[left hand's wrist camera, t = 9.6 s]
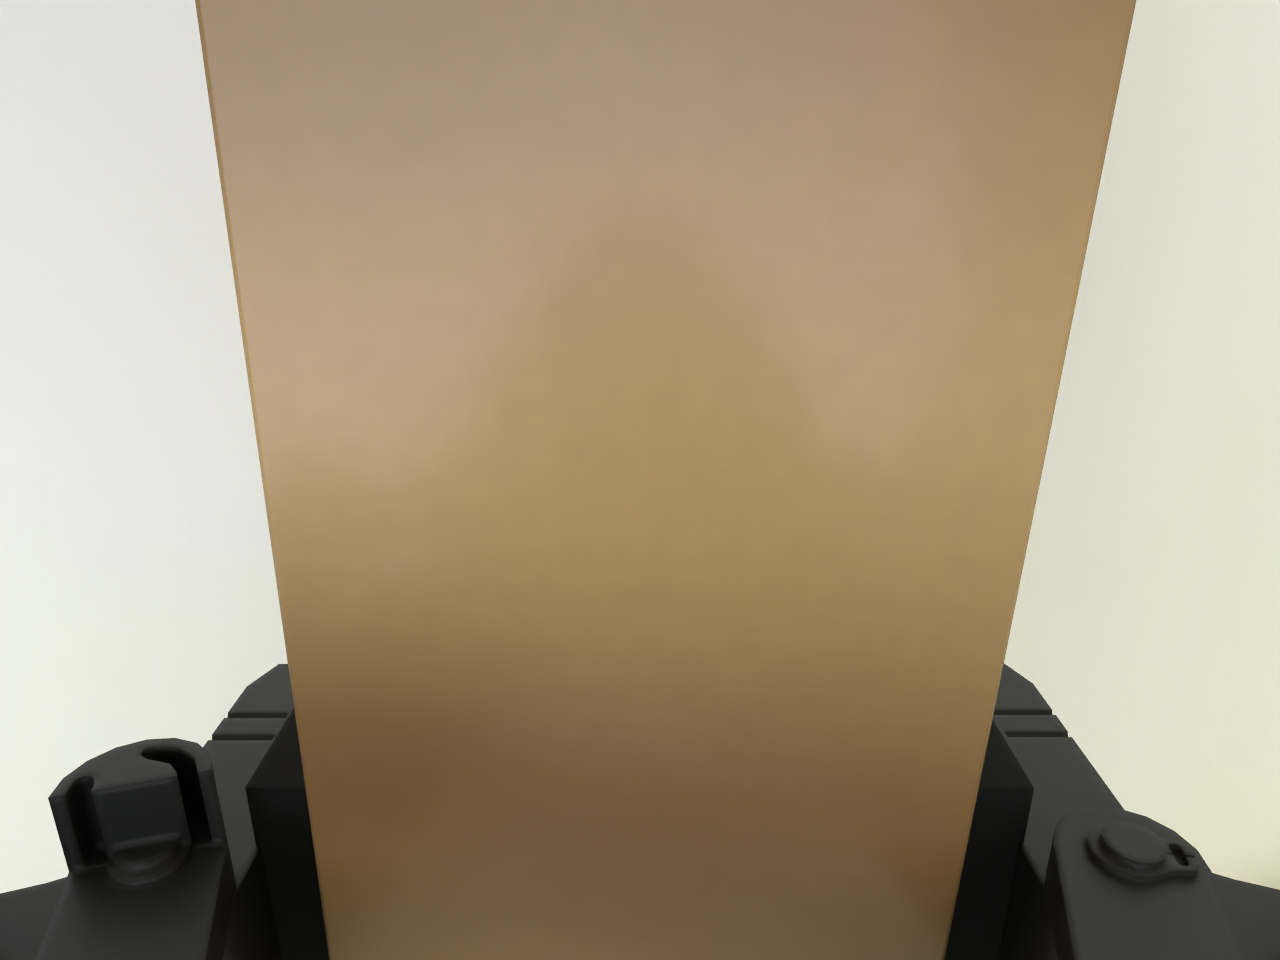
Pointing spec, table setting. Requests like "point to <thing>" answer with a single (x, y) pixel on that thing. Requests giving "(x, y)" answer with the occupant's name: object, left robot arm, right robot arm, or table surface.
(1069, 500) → the table surface
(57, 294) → the table surface
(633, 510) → the beam
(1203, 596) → the table surface
